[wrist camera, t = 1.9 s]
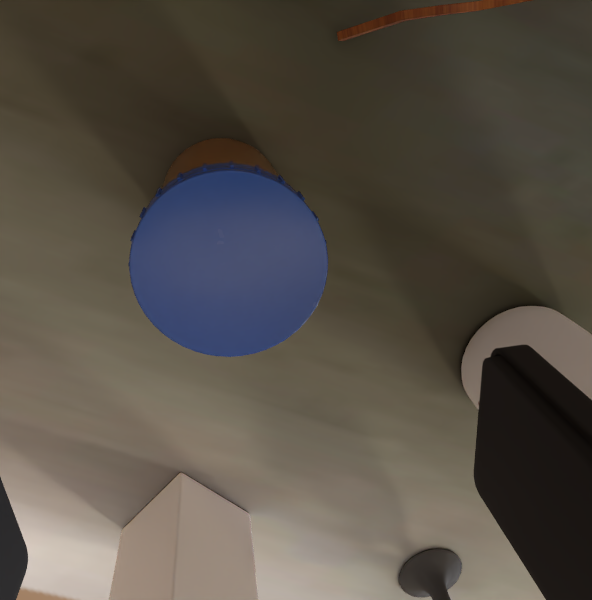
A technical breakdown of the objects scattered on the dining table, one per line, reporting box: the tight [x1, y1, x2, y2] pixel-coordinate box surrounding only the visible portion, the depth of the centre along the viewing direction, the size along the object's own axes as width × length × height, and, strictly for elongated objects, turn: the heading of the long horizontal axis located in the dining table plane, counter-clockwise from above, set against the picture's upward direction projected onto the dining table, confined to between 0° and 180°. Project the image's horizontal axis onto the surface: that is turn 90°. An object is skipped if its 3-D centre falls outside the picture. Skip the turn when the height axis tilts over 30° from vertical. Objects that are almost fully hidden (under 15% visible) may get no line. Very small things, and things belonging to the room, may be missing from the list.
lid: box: [129, 161, 328, 357], centre depth 19 cm, size 7×7×2 cm
